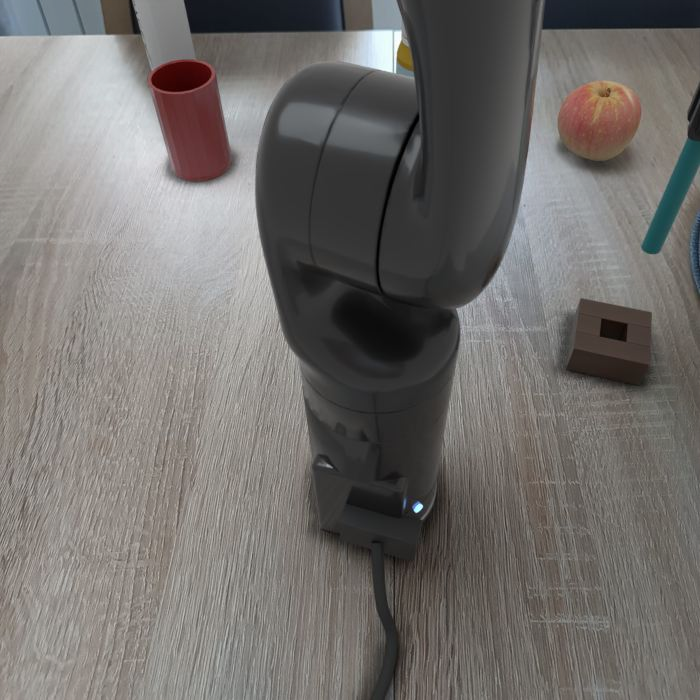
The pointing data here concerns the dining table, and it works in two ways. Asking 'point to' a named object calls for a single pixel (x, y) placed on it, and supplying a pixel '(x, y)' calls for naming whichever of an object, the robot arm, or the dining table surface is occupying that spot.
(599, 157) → the apple
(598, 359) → the block
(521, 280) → the dining table surface
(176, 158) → the cup
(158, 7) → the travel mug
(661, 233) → the straw
